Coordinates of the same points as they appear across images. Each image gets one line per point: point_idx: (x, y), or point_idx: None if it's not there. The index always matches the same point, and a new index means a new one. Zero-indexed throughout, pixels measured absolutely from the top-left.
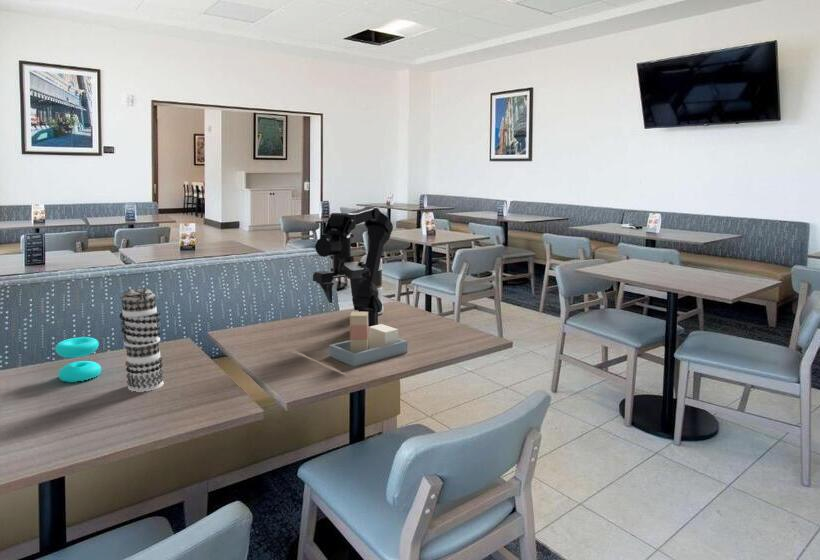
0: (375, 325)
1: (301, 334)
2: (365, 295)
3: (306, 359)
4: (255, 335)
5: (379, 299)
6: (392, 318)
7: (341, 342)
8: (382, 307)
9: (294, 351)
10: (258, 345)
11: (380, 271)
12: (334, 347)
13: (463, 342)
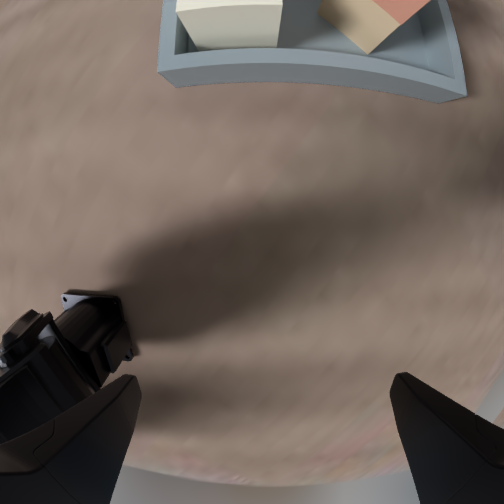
0: (227, 3)
1: (336, 397)
2: (36, 392)
3: (486, 155)
4: None
5: None
6: None
7: (419, 78)
8: None
9: (469, 252)
10: (472, 359)
11: None
12: (461, 63)
13: (8, 21)
